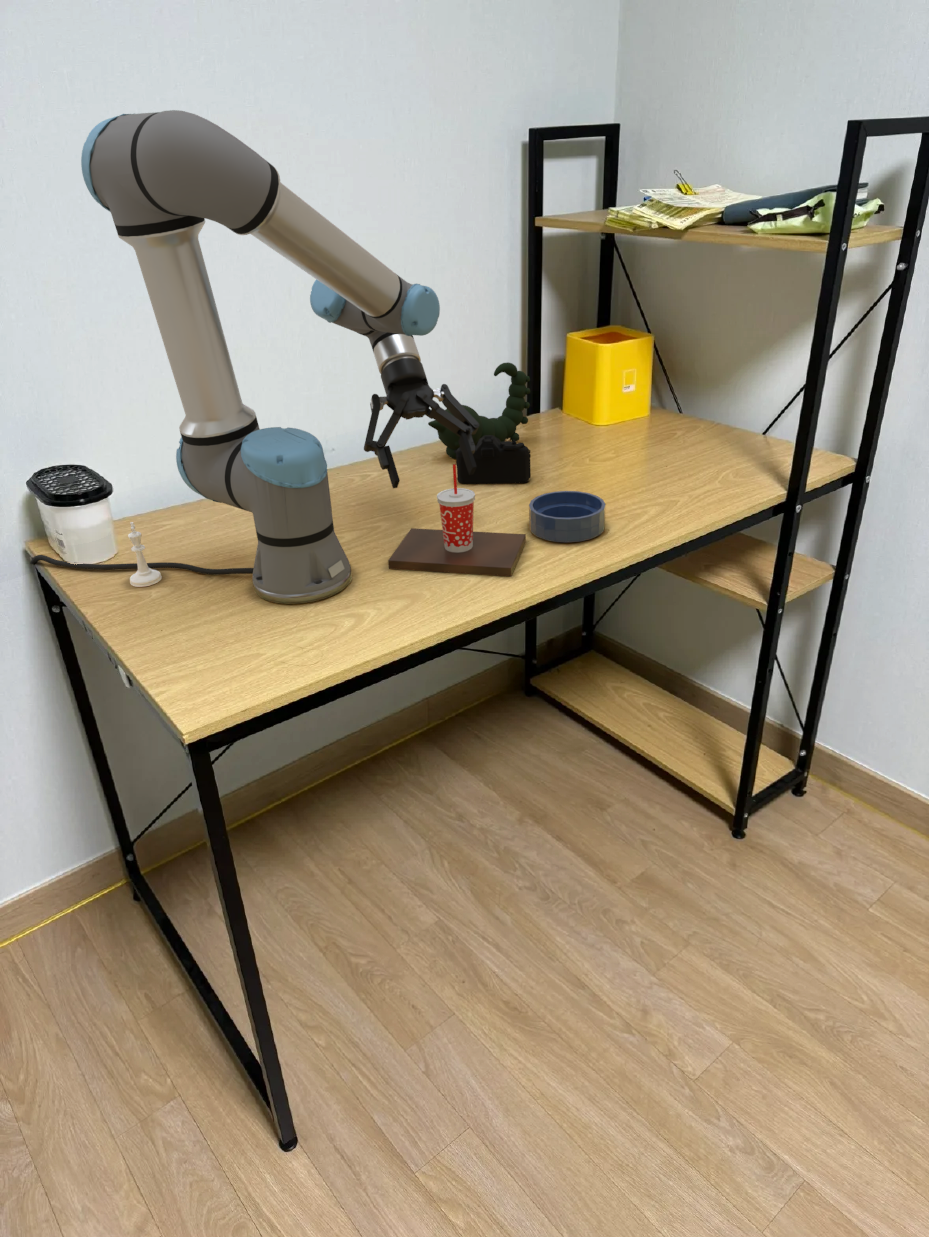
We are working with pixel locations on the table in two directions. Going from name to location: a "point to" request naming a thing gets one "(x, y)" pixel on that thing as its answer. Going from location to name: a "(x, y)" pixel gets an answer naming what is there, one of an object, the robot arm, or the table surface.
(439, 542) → the board
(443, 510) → the beverage cup
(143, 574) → the chess piece
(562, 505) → the bowl
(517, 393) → the toy figurine
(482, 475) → the film camera
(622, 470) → the table surface
